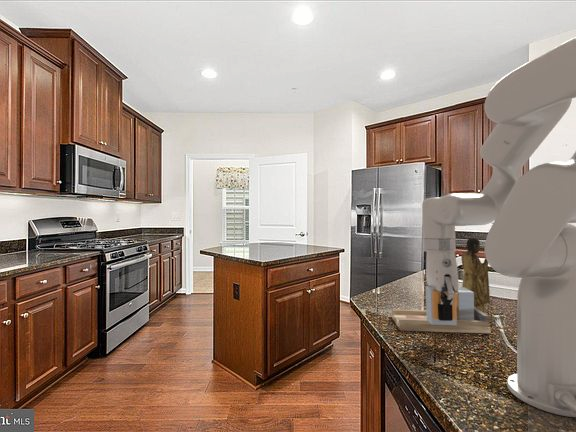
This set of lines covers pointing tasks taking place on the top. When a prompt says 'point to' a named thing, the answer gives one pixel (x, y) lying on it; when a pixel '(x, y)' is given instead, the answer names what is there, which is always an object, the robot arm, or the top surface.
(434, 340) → the top surface
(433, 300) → the grey upright block
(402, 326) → the jaw rail
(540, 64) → the robot arm
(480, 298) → the statue
